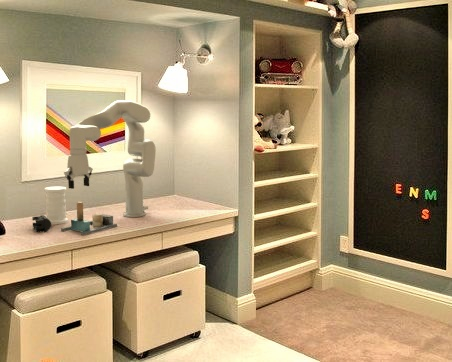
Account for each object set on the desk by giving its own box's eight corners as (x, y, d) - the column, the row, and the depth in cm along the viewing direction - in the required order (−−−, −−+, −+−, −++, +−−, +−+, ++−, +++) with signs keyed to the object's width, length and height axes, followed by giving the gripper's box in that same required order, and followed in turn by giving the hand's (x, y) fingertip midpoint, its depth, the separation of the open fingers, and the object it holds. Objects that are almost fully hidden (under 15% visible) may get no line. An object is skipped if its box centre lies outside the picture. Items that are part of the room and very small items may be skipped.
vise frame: (95, 222, 296) (95, 212, 295) (117, 226, 288) (117, 216, 287) (61, 230, 277) (60, 220, 276) (83, 235, 269) (83, 225, 268)
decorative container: (72, 220, 299) (71, 187, 296) (57, 225, 288) (56, 190, 286) (55, 218, 304) (54, 185, 301) (40, 222, 293) (38, 188, 291)
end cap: (51, 231, 276) (51, 217, 275) (36, 233, 272) (36, 219, 271) (47, 227, 285) (46, 214, 284) (32, 228, 281) (32, 215, 280)
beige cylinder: (97, 224, 290) (97, 213, 289) (104, 226, 288) (104, 214, 287) (90, 226, 286) (90, 215, 285) (97, 228, 283) (97, 216, 283)
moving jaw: (75, 228, 281) (75, 200, 279) (90, 231, 276) (89, 203, 274) (71, 229, 279) (70, 201, 277) (85, 232, 273) (84, 204, 271)
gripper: (86, 150, 280) (86, 184, 283) (58, 152, 266) (59, 188, 269) (96, 151, 276) (97, 185, 279) (69, 154, 262) (70, 190, 265)
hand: (79, 187), depth 274 cm, fingers open, 9 cm apart
